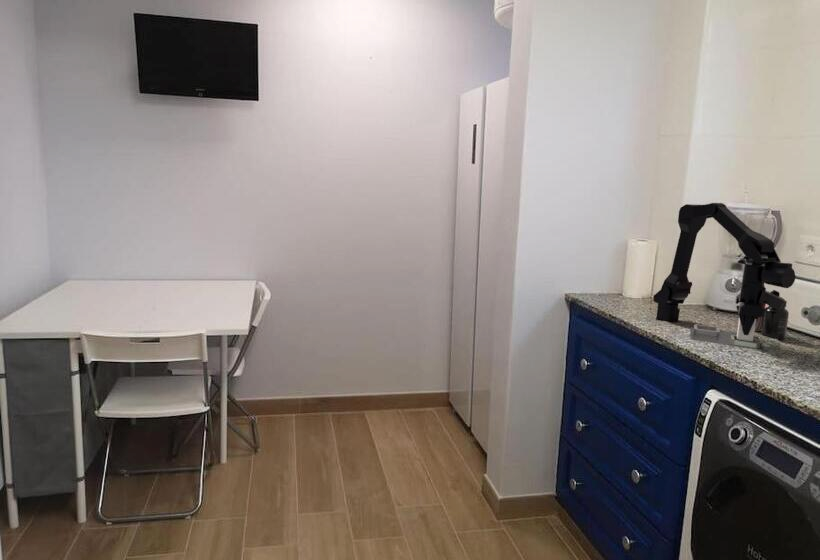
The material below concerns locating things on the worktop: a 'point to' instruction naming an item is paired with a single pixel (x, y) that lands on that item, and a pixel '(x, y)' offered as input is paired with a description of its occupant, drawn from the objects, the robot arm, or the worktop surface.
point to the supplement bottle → (775, 322)
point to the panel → (721, 337)
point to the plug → (741, 335)
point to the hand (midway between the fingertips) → (745, 333)
